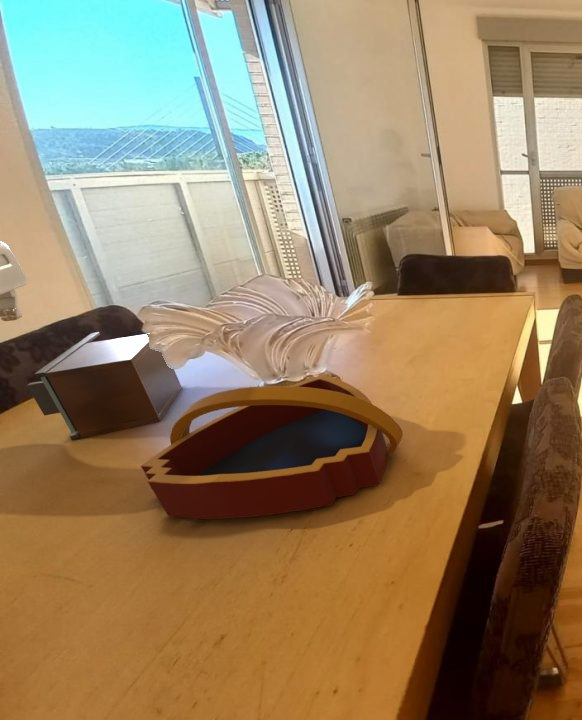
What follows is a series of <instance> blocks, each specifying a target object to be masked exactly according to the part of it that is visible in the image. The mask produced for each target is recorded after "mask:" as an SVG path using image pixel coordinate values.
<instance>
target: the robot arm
mask: <svg viewBox="0 0 582 720" xmlns="http://www.w3.org/2000/svg"><path fill="white" fill-rule="evenodd" d="M27 283H28V279H27V275H26V274H25V272H24V269H23V268H22V266H21V264H20V262H19V261H18V259H17V258H16V256H15V254H14V253H13V251H12V250H11V248H10V247H9V246H8V245H7V244H6V243H5V242H3V241H0V319H1V321H3V322H10V321H11V322H13V321H17V320H19V319H20V318H22V317H23V316H22V313H21V311H20V309H19V301H18V300H19V299H18V294H17V292H16V289H19V288H21V287H24V286H26V285H27Z"/></svg>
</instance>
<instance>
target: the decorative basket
mask: <svg viewBox="0 0 582 720" xmlns="http://www.w3.org/2000/svg"><path fill="white" fill-rule="evenodd" d="M231 408H235V409H233V410H230V411H229V412H228V411H227V412H226V413H224V414H223V415H221V416H218V417H216V418H215V419H212V420H211V421H209V422H207V423H205V424H203V425H202V426H199V427H198V428H196V429H194V430H193V431H191V430H190V428H191V424H192V422H193V421H194V420H195V419H197V418H199V417H201V416H203V415H205V414H209V413H212V412H216V411H221V410H225V409H231ZM403 436H404V434H403V429H402V427H401V426H400V425H399V423H398V422H397V421H396V420H395V419H394V418H393V417H392V416H391V415H389V414H388V413H387V412H385V410H383V409H381V408H380V407H378V406H376V405H375V404H373V403H372V401H371V400H370V399H369V398H368V396H367V395H365V393H363V392H362V391H361V390H359V389H358V388H357V387H356V386H353V385H351V384H350V383H348V382H345V381H343V380H341V379H338V378H336V377H333V376H329V375H326V374H321V375H318V376H314V377H311V378H308V379H305V380H303V381H299V382H296V383H293V384H290V385H267V386H265V385H263V386H248V387H247V386H246V387H239V388H233V389H228V390H223V391H219V392H217V393H214V394H210V395H208V396H205V397H203V398H200V399H199V400H197V401H195V402H193V404H191V405H190V406H189V407H188V408H187V409H186V410H185V411H184V412H183V414H182V415H181V416H180V417H179V419H178V420H177V421H176V422H175V423H174V425H173V426H172V429H171V431H170V436H169V440H170V445H168V446H167V447H165V448H164V449H162V450H161V451H159V452H158V453H156V454H155V455H153V456H152V457H150V458H149V459H148V460H146V461H145V462H143V463H142V464H141V465H140V467H141V469H142V471H143V472H144V475H145V476H146V478H147V479H148V480H147V484H148V485H149V487H150V488H151V490H152V491H153V493H154V495H155V497H156V498H157V500H158V501H159V503H160V505H161V506H162V508H163V510H164V511H165V513H166V515H167V516H169V517H178V518H187V519H188V518H189V519H203V520H205V519H206V520H216V519H217V520H219V519H231V518H246V517H247V518H248V517H249V518H250V517H260V516H267V515H269V516H270V515H277V514H282V513H290V512H295V511H302V510H309V509H315V508H321V507H325V506H331V505H333V503H334V502H335V500H336V498H339V497H344V496H345V497H346V496H352V495H356V493H357V491H359V489H360V488H366V487H372V486H378V485H380V484H381V481H382V479H383V476H384V474H385V470H386V467H387V462H388V456H389V455H391V454H393V453H394V452H395V451H396V450H397V448H398V446H399V444H400V443H401V441H402V438H403ZM385 437H387V438H388V441H389V444H387V442H386V439H385Z"/></svg>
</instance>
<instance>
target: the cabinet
mask: <svg viewBox="0 0 582 720" xmlns="http://www.w3.org/2000/svg"><path fill="white" fill-rule="evenodd" d="M147 334H148V333H145V334H139V335H138V334H137V335H132V336H126V337H117V338H112V339H105V340H97V341H94V340H95V339H96V338H98V337H100V336H101V332H99V331H96V332H90V334H88V335H87V336H86V337H84V338H82V339H81V340H80V341H78V342H77V343H75V344H74V345H73V346H71V347H70V348H68V349H67V350H66V351H64V352H63V353H61V354H59V356H57V357H56V358H55V359H53V360H52V361H50V362H49V363H47V364H46V365H44V366H43V367H42V368H40V369H38V370H37V371H36V372H35V373H33V375H34V377H35V378H38V377H42V376H45V375H47V377H48V379H49V381H50V382H51V384H52V386H53V388H54V390H55V391H56V393H57V395H58V397H59V399H60V400H61V402H62V404H63V406H64V408H65V409H66V411H67V413H68V415H69V416H70V418H71V420H72V422H73V424H74V425H75V427H76V429H77V432H76V433H71V434H70V435H69V439H70V440H71V441H74V440H78V439H84V438H88V437H92V436H98V435H102V434H106V433H112V432H116V431H121V430H125V429H130V428H135V427H140V426H145V425H150V424H155V423H158V422H161V420H162V419H163V418H164V416H165V415H166V413H167V411H168V410H169V408H170V407H171V406H172V403H173V402H174V401H175V399H176V397H178V395H179V393H180V391H181V390H182V388H183V386H182V385H181V382H180V380H179V378H178V375H177V373H176V371H175V368H174V369H171V368H169V367H168V366H167V364H166V362H165V360H164V358H163V356H162V353H161V352H159V351H155V350H152V349H150V347H149V337H148V335H147Z"/></svg>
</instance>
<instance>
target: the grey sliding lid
mask: <svg viewBox="0 0 582 720" xmlns="http://www.w3.org/2000/svg"><path fill="white" fill-rule="evenodd" d="M40 379H41V380H39V381H34V382H29V383H28V384H27V385H26V387H27V388H28V391H29V392H30V394H31V395H32V397H33V399H34V400H35V402H36V404H37V406H38V408H39V409H40V411H41V412H42V414H43V417H44V416H49V415H55V414H60V415H61V417H62V418H63V420H64V422H65V424H66V426H67V427H68V429H69V431H70V433H71V434H72V433H76V432H77V429H76V427H75V425H74V424H73V422H72V420H71V418H70V416H69V415H68V413H67V411H66V409H65V408H64V406H63V404H62V402H61V400H60V399H59V397H58V395H57V393H56V391H55V390H54V388H53V386H52V384H51V382H50V381H49V379H48V377H47V375H45V376H40Z"/></svg>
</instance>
